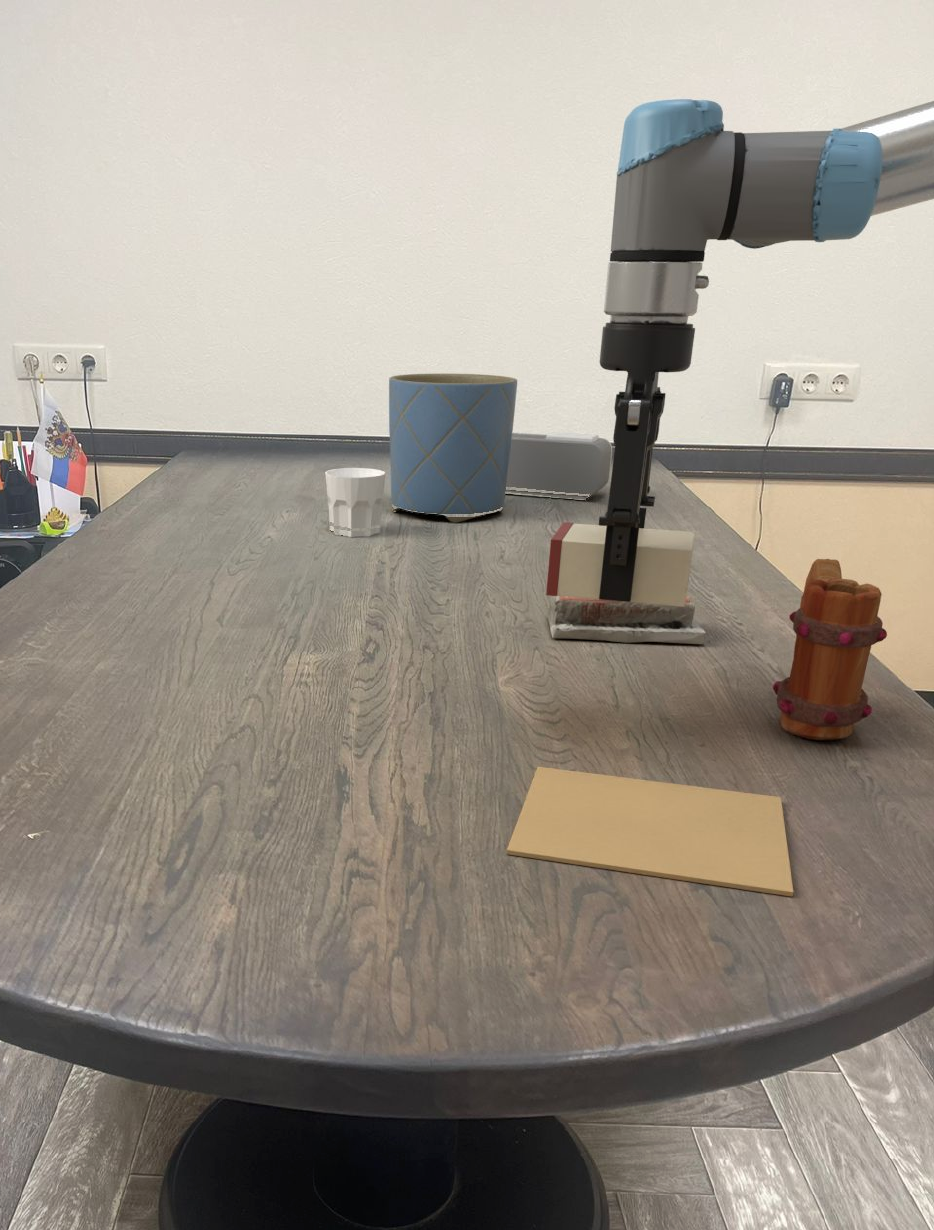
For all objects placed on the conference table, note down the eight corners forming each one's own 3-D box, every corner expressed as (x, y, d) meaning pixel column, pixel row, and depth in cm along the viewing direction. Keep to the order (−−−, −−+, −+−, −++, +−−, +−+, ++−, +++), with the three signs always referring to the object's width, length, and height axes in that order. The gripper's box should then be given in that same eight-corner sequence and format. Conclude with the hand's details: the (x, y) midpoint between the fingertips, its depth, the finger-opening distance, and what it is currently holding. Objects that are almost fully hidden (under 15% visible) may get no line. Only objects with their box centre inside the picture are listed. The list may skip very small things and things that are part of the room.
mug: (872, 754, 98) (909, 592, 91) (778, 747, 99) (808, 587, 93) (836, 699, 111) (866, 554, 104) (753, 694, 112) (778, 550, 106)
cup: (391, 536, 181) (392, 476, 176) (333, 539, 178) (333, 478, 174) (375, 525, 189) (376, 467, 185) (319, 527, 187) (319, 469, 183)
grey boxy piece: (553, 600, 126) (549, 580, 135) (550, 640, 128) (546, 617, 137) (711, 606, 125) (696, 584, 134) (705, 646, 127) (690, 622, 136)
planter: (361, 512, 200) (362, 378, 190) (434, 496, 215) (439, 371, 206) (461, 529, 186) (469, 386, 176) (531, 511, 202) (542, 378, 192)
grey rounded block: (607, 495, 218) (614, 434, 213) (597, 502, 210) (604, 439, 205) (478, 485, 228) (482, 426, 223) (464, 492, 220) (467, 431, 215)
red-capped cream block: (558, 574, 105) (563, 521, 102) (687, 585, 101) (695, 531, 99) (545, 595, 98) (550, 539, 95) (684, 607, 94) (692, 549, 92)
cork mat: (780, 801, 89) (781, 797, 88) (792, 897, 75) (793, 892, 75) (537, 770, 94) (537, 766, 94) (506, 854, 80) (506, 849, 80)
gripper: (692, 324, 80) (653, 621, 89) (699, 317, 98) (667, 565, 107) (589, 322, 82) (562, 613, 91) (615, 316, 100) (591, 559, 109)
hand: (619, 587), depth 99 cm, fingers closed on red-capped cream block, 8 cm apart
